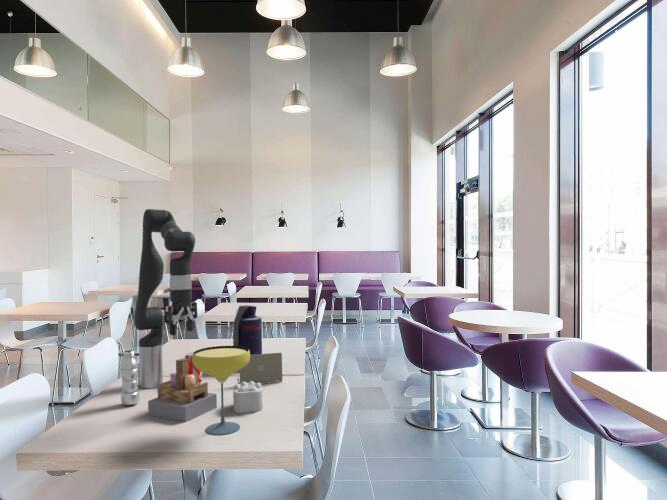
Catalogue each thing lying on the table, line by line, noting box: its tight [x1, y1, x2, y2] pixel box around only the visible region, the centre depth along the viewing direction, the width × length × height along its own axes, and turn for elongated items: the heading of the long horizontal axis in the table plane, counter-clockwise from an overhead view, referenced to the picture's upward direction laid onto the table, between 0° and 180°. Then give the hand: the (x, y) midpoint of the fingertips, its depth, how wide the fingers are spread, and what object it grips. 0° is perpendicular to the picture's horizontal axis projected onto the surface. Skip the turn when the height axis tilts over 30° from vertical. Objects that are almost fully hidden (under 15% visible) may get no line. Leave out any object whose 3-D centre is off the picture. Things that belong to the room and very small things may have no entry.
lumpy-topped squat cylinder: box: [232, 381, 264, 414], centre depth 183 cm, size 10×13×9 cm
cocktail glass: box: [192, 345, 250, 436], centre depth 161 cm, size 18×18×25 cm
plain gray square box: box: [147, 392, 218, 423], centre depth 179 cm, size 17×16×5 cm
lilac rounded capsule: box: [170, 372, 176, 388], centre depth 181 cm, size 3×3×4 cm
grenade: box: [232, 304, 263, 355], centre depth 239 cm, size 14×12×30 cm
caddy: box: [157, 357, 209, 403], centre depth 179 cm, size 15×9×14 cm, turn 64°
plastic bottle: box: [119, 349, 140, 406], centre depth 188 cm, size 6×7×20 cm
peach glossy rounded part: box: [185, 375, 195, 390], centre depth 178 cm, size 3×3×4 cm
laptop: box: [237, 352, 283, 385], centre depth 219 cm, size 18×13×13 cm
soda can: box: [184, 351, 203, 385], centre depth 214 cm, size 7×7×13 cm
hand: (181, 333), depth 179 cm, fingers open, 8 cm apart
